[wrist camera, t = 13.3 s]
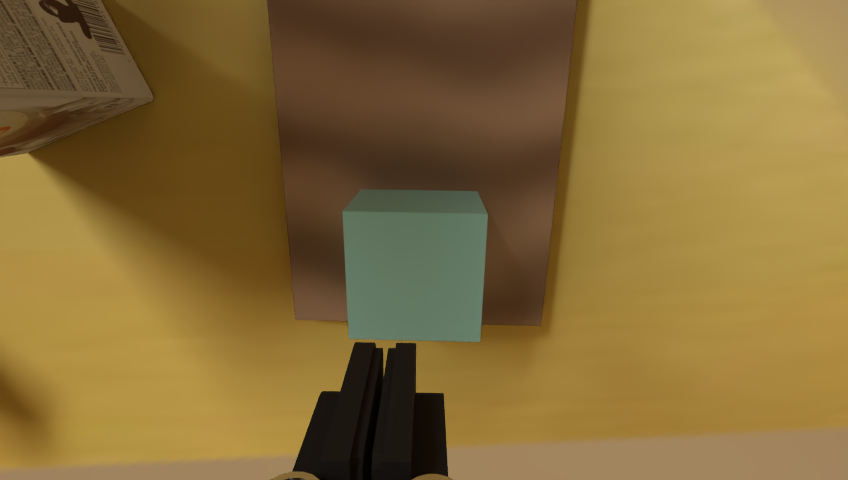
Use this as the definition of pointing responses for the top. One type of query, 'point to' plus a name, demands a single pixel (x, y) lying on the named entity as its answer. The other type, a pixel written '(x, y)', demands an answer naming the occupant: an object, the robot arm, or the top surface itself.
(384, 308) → the mint green cube
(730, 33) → the top surface
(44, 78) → the coffee box
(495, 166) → the wooden board
